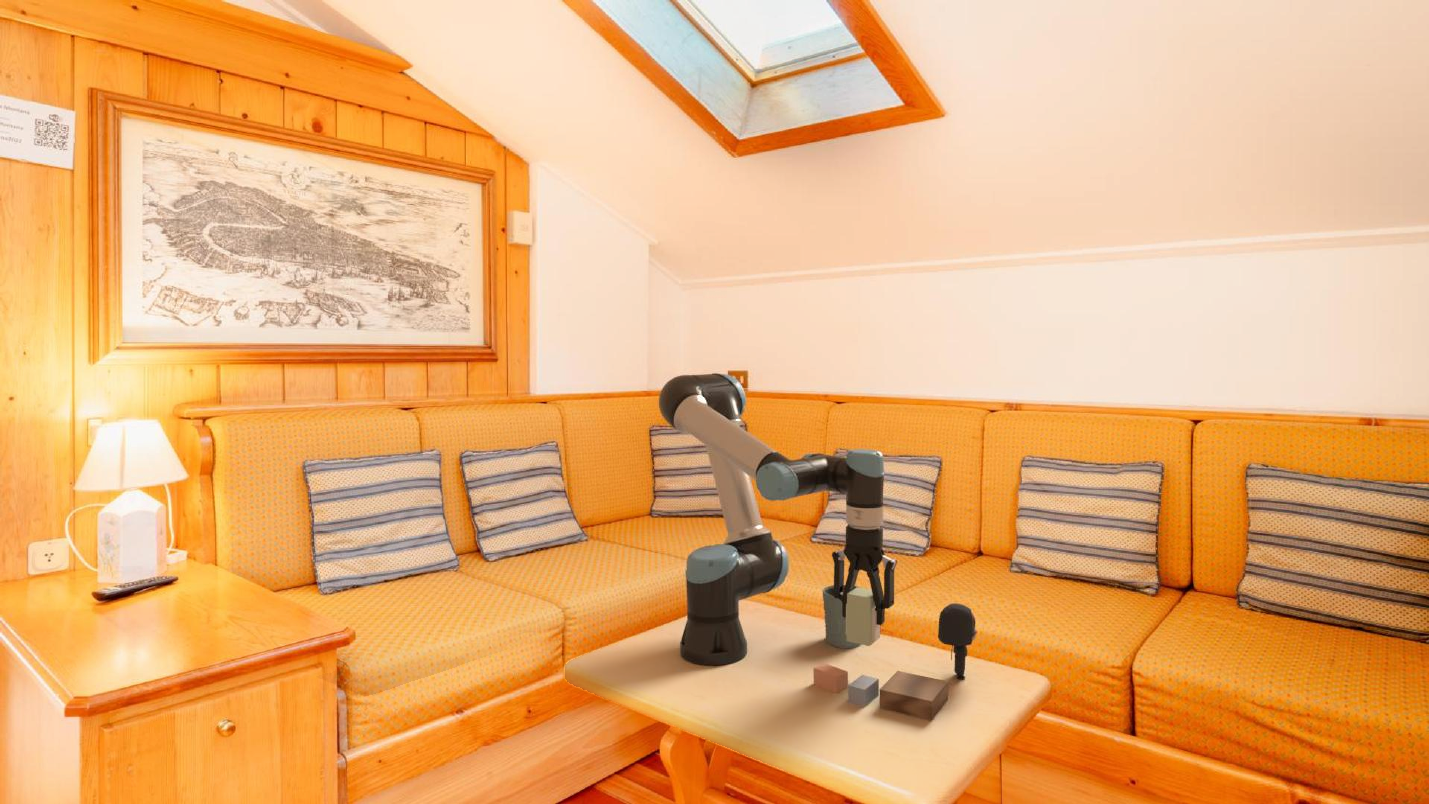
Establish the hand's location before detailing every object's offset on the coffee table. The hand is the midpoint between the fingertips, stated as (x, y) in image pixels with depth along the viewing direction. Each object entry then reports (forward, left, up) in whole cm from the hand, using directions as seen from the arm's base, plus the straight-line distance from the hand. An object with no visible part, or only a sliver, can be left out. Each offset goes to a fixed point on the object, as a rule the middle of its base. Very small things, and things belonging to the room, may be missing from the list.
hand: (862, 635), depth 161 cm
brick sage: (0, 0, -1) cm, 1 cm away
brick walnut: (+14, -7, -9) cm, 18 cm away
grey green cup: (-11, +16, -9) cm, 21 cm away
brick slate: (+5, -10, -9) cm, 14 cm away
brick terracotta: (-3, -8, -9) cm, 12 cm away
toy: (+17, +10, -9) cm, 21 cm away
